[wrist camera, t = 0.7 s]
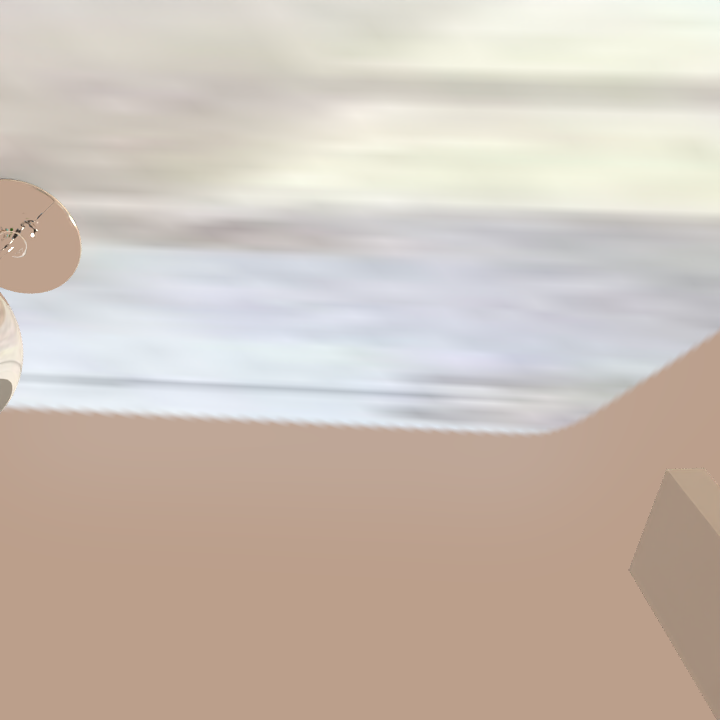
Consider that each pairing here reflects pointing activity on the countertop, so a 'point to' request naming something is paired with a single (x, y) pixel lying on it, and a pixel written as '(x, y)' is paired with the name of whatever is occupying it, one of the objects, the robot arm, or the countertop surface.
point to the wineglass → (30, 262)
